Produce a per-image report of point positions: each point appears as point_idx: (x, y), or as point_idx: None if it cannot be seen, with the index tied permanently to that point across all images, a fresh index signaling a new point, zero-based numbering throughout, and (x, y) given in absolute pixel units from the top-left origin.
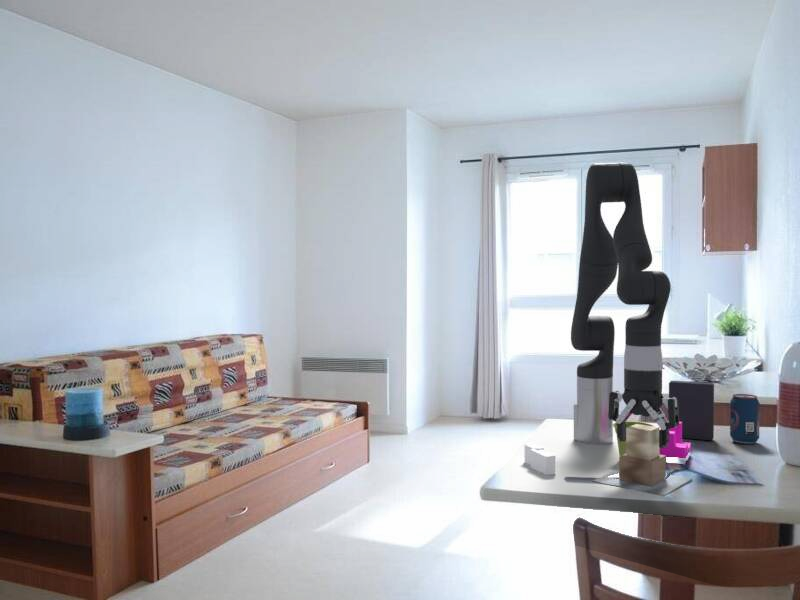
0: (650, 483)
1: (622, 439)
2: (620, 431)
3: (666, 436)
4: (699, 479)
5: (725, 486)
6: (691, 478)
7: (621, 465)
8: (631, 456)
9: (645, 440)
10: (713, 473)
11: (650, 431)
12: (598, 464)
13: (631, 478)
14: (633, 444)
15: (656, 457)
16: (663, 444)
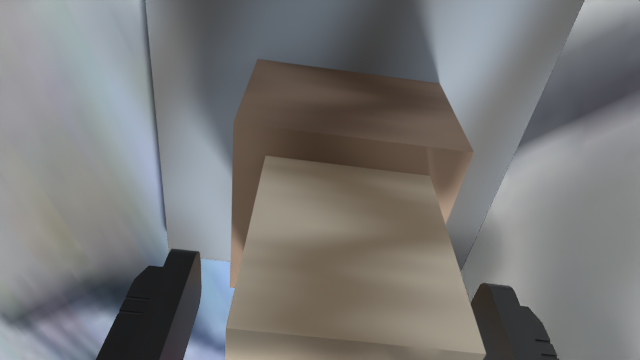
0: (265, 65)
1: (490, 290)
2: (528, 347)
3: (113, 328)
4: None
5: (70, 260)
6: None
7: (445, 121)
8: (393, 174)
9: (283, 255)
10: None
11: (227, 334)
12: (558, 297)
13: (374, 83)
14: (388, 230)
15: None
16: (163, 272)
